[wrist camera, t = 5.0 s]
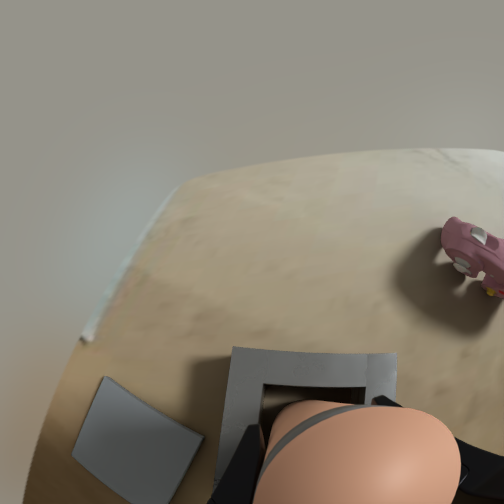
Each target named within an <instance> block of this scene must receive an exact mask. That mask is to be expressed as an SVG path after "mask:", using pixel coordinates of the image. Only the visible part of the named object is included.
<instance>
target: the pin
mask: <svg viewBox="0 0 504 504" xmlns="http://www.w3.org/2000/svg"><path fill="white" fill-rule="evenodd" d="M460 471H461V460H460V452H459V449H458V445H457V443H456V440H455V438H454V436H453V435H452V433H451V432H450V431H449V429H448V428H447V427H446V426H445V425H444V424H443V423H442V422H441V421H440V420H438V419H436V418H435V417H433V416H432V415H429V414H427V413H425V412H422V411H419V410H415V409H411V408H401V407H392V406H381V405H354V404H344V403H335V402H327V401H320V400H312V399H305V400H299V401H296V402H293V403H291V404H289V405H287V406H286V407H284V408H283V409H282V410H281V411H280V412H279V413H278V415H277V416H276V418H275V420H274V422H273V425H272V429H271V434H270V438H269V442H268V447H267V451H266V455H265V459H264V463H263V466H262V469H261V471H260V475H259V479H258V482H257V486H256V490H255V494H254V499H253V504H451V503H452V500H453V498H454V496H455V493H456V490H457V487H458V484H459V479H460Z"/></svg>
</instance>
